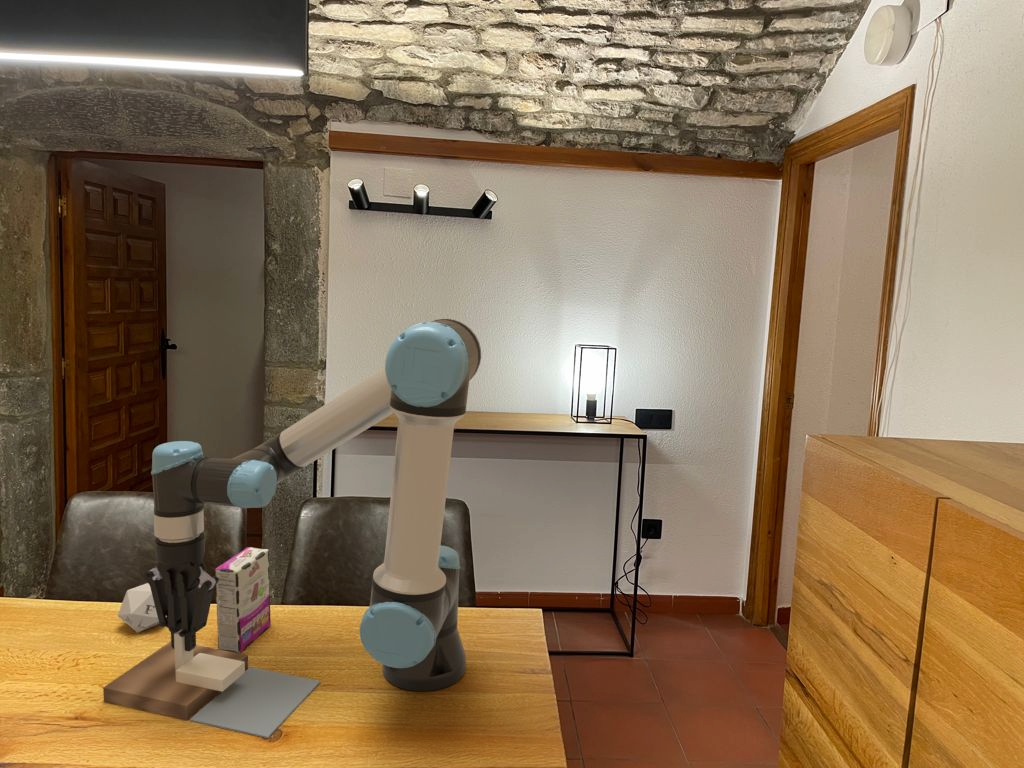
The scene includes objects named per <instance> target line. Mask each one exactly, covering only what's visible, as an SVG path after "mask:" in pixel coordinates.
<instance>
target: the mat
mask: <svg viewBox="0 0 1024 768" xmlns="http://www.w3.org/2000/svg"><path fill="white" fill-rule="evenodd" d="M320 684H321V680H318V679H313V678H307V677H304V676H303V677H302V676H297V675H294V674H287V673H283V672H278V671H273V670H267V669H263V668H257V667H252V666H250V667H248V669H246V670H245V673H244V674H242V675H241V676H240V677H239V678H238V679H237V680H236V681H234V682H233V683H232V684H231V685H230V686H229V687H227V688H226V689H225V690H224V691H223V692H222V691H221V692H220V693H218V694H217V695H216V696H215V697H214V698H213V699H211V700H210V701H209V702H208V703H207V704H206V705H205V706H203V707H202V708H201V709H200V710H199V711H198V712H196V713H195V714H194V715H193V716H192V717H191V718H189V721H190V722H193V723H198V724H200V725H205V726H211V727H216V728H220V729H225V730H229V731H233V732H237V733H241V734H247V735H250V736H256V737H260V738H264V739H269V738H271V736H272V735H273V734H274V733H275V732H276V731H277V729H279V727H280V726H282V724H283V723H284V722H285V721H286V720H287V719H288V717H290V716H291V714H293V712H295V710H296V709H297V708H298V707H299V706H300V705H301V704H302V703H303V702H304V701H305V700H306V699H307V698H308V696H309V695H310V694H311V693H312V692H313V691H314V690H315V689H316V688H317V687H318V686H319V685H320Z"/></svg>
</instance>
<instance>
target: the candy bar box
mask: <svg viewBox="0 0 1024 768" xmlns="http://www.w3.org/2000/svg"><path fill="white" fill-rule="evenodd" d="M269 553H270V551H269V549H268V548H260V547H252V546H249V547H245V548H244V549H243V550H242V551H240V552H239V553H237V554H236V555H234V556H233V557H231V558H230V559H228V560H227V561H225V562H224V563H223V564H220V565H219V566H217V567H216V568H215V569H214V573H215V575H214V576H216V577H218V579H219V581H218V583H217V584H216V586H215V598H216V619H217V621H216V623H217V643H218V644H217V647H218V648H217V649H219V650H224V651H229V652H234V653H239V654H241V653H242V652H243V651H244V650H245V649H246V648H248V647H249V645H251V644H253V642H254V641H255V640H256V639H257V638H258V637H259V636H260V635H262V634H263V633H264V632H265V631H266V630H267V629H269V627H271V624H272V621H271V596H270V595H271V593H270V592H271V591H270V590H271V587H270V560H269V559H270V554H269Z"/></svg>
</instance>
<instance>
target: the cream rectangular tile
mask: <svg viewBox="0 0 1024 768" xmlns="http://www.w3.org/2000/svg"><path fill="white" fill-rule="evenodd" d="M245 671H246V670H245V662H244V661H239V660H234V659H229V658H224V657H219V656H214V655H209V654H204V653H199V654H197V655H196V656H195V657H193V658H192V659H191V660H189V661H188V662H187V663H185V664H184V665H183V666H181V667H180V668H178V669H177V670H176V682H179V683H184V684H189V685H194V686H198V687H203V688H208V689H212V690H217V691H221V692H223V691H224V690H225V689H226V688H227V687H229V686H230V685H231V684H232V683H233V682H234V681H236V680H237V679H238V678H239V677H240V676H241V675H242V674H244V673H245Z"/></svg>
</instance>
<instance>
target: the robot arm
mask: <svg viewBox="0 0 1024 768" xmlns="http://www.w3.org/2000/svg"><path fill="white" fill-rule="evenodd" d="M473 331H474V330H472V328H470V327H468V325H467V324H465V323H463V322H461V321H458V320H456V319H451V318H442V319H439V318H438V319H436V320H435V319H434V320H432V321H423V322H418V323H417V324H413V325H411V326H410V327H408V328H406V329H405V330H404V331H402V332H401V333H400V334H399V335H398V336H397V337H396V338H395V339H394V340H393V342H392V343H391V344H390V346H389V349H388V350H387V353H386V357H385V362H384V363H385V364H384V367H383V368H381V369H379V370H378V371H376V372H375V373H373V374H372V375H370V376H368V377H367V378H365V379H364V380H362V381H361V382H359V383H358V384H356V385H354V386H352V387H351V388H349V389H348V390H346V391H345V392H343V393H341V394H340V395H338V396H336V397H335V398H334V399H332V400H330V401H328V402H327V403H325V404H324V405H323V406H320V407H319V408H317V409H316V410H314V411H312V412H311V413H309V414H307V416H305V417H303V418H301V419H300V420H298V421H297V422H295V423H293V424H292V425H290V426H289V427H287V428H286V429H284V430H283V431H281V432H280V433H277V434H276V435H274V436H273V437H271V438H269V439H268V440H266V441H265V442H262V443H261V444H259V445H258V446H255V447H254V448H252V449H250V450H247V451H246V452H244V453H241V454H239V455H237V456H235V457H233V458H217V457H216V458H213V457H207V456H204V452H203V447H202V446H201V444H200V443H199V442H194V441H188V440H179V441H178V440H176V441H175V440H174V441H170V442H165V443H161V444H159V445H157V446H156V447H155V448H154V449H153V451H152V455H151V457H152V458H151V459H152V463H151V472H150V475H151V480H152V481H151V482H152V491H153V493H152V494H153V528H154V529H153V530H154V531H153V534H154V537H156V538H155V539H154V552H155V553H154V555H155V560H156V561H157V563H156V567H154V568H152V569H150V570H147V571H146V572H144V573H143V574H144V578H145V579H146V583H149V585H150V588H151V592H152V596H153V600H154V604H155V608H156V612H157V616H158V620H159V624H158V625H159V626H160V627H161V628H167V629H168V631H169V632H170V642H171V646H172V648H173V649H175V670H177V669H178V668H180V667H181V666H183V665H184V664H185V663H187V662H188V661H189V660H191V659H192V658H193V649H194V648H195V647H196V645H197V633H198V632H199V631H201V630H202V629H203V628H204V627H206V626H207V623H208V618H209V614H210V609H211V604H212V600H213V599H212V598H213V593H214V590H215V588H216V584H217V583H218V581H219V579H218V577H216V576H215V575H213V576H211V575H209V574H208V572H206V566H205V563H204V556H205V553H206V542H205V541H206V540H205V533H203V532H204V531H205V519H204V518H205V515H204V512H205V511H204V505H214V506H224V507H225V506H226V507H227V506H228V507H234V508H240V509H251V508H252V509H255V508H256V509H258V508H259V509H260V508H264V507H267V506H268V505H269V503H271V502H272V498H273V497H275V495H276V492H277V491H276V490H277V485H278V484H279V483H282V482H283V481H284V480H286V479H288V478H290V477H291V476H294V474H296V473H298V472H299V471H300V470H303V468H305V467H306V466H308V465H310V464H311V463H313V462H315V461H317V460H318V459H320V458H322V457H323V456H325V455H326V454H328V453H330V452H332V451H333V450H334V449H336V448H338V447H340V446H341V445H343V444H345V443H346V442H348V441H349V440H350V441H351V440H352V439H353V438H354V437H356V436H358V435H359V434H361V433H363V432H364V431H366V430H368V429H369V428H371V427H373V426H375V425H376V424H378V423H380V422H381V421H382V420H385V419H386V418H388V417H389V416H391V415H393V414H394V415H396V417H397V419H398V421H397V431H396V439H395V440H396V443H395V450H394V462H393V471H392V479H391V481H392V482H391V490H390V500H389V512H388V518H387V520H388V521H387V531H386V539H385V547H384V548H385V551H384V560H383V562H382V563H381V564H380V565H378V566H377V567H376V568H375V569H374V571H373V575H372V582H371V583H372V585H371V591H370V601H369V607H368V608H367V609H366V611H365V612H364V613H363V615H362V619H361V621H360V625H359V637H360V640H361V644H362V646H363V648H364V650H365V651H366V652H367V653H369V655H371V657H372V659H374V660H375V661H376V662H378V663H380V664H382V674H383V677H384V678H385V679H386V681H388V682H389V683H390V684H392V685H393V686H395V687H397V688H400V689H403V690H408V691H414V692H430V691H437V690H441V689H444V688H445V689H446V688H447V687H450V686H452V685H454V684H455V683H457V682H458V681H459V680H461V678H463V676H464V674H465V672H466V669H467V668H466V667H467V663H466V662H467V658H466V651H465V648H464V646H463V642H462V639H461V636H460V633H459V629H458V619H459V617H458V616H459V615H458V613H459V590H460V589H459V587H460V585H459V584H460V569H461V566H460V555H459V554H458V551H456V550H455V549H453V548H451V547H449V546H446V545H441V543H442V534H443V526H444V519H445V517H444V516H445V511H446V510H445V508H446V500H447V492H448V491H447V490H448V483H449V474H450V465H451V455H452V447H453V437H454V432H455V431H454V430H455V424H456V423H457V422H458V421H460V420H461V419H462V418H464V417H465V416H466V411H467V404H468V396H469V386H470V381H471V380H472V379H473V378H474V376H475V375H476V374H477V373H478V370H479V368H480V366H481V360H482V348H481V344H480V342H479V339H478V337H477V335H476V334H475V332H473ZM197 591H198V592H197Z"/></svg>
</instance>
